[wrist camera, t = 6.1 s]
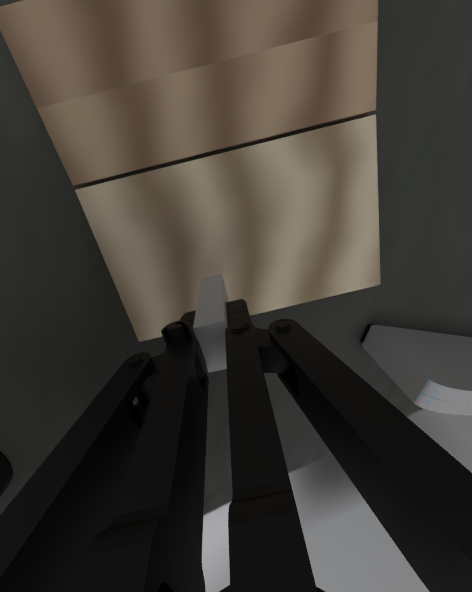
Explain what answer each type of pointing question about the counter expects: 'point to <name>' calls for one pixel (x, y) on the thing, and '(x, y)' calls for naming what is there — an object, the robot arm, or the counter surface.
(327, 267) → the plank
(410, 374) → the decorative sign
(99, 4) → the floor strip
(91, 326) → the counter surface
